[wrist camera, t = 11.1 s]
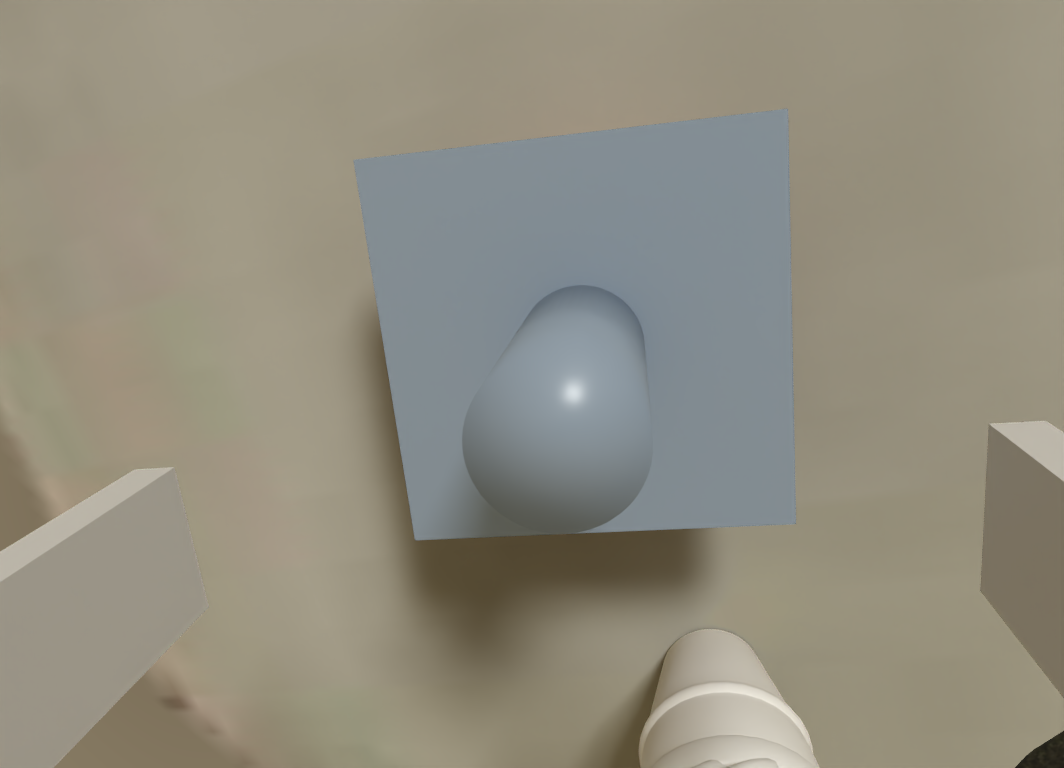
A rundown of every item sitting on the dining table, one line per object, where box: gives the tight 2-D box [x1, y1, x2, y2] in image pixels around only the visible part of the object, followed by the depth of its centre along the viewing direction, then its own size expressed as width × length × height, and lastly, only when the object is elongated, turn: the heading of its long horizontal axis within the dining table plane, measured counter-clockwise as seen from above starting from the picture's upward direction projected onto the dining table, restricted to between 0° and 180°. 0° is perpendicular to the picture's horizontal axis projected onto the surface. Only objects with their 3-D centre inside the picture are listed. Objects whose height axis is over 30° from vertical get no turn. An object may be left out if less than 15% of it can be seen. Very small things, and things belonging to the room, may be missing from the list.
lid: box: [354, 109, 796, 540], centre depth 21 cm, size 13×13×10 cm
